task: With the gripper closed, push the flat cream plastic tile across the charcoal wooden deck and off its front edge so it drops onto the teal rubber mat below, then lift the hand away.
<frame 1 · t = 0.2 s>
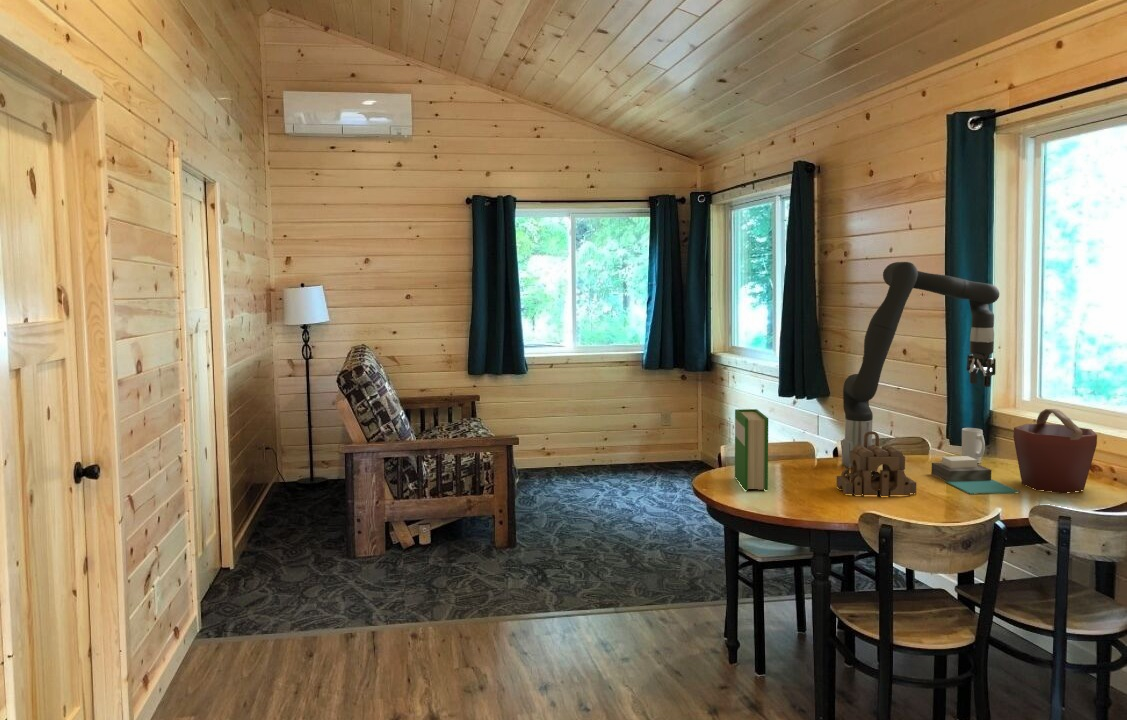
hand: (980, 385, 288), 29 cm above the table, tool pointing down, fingers open, 8 cm apart
tile: (959, 461, 271), point 5 cm above the table, touching deck
mat: (981, 487, 258), on the table
hardback book: (750, 485, 267), on the table
mug: (974, 463, 291), on the table
wooden puzzle: (875, 492, 256), on the table
deck: (960, 477, 271), on the table
bucket: (1050, 487, 258), on the table
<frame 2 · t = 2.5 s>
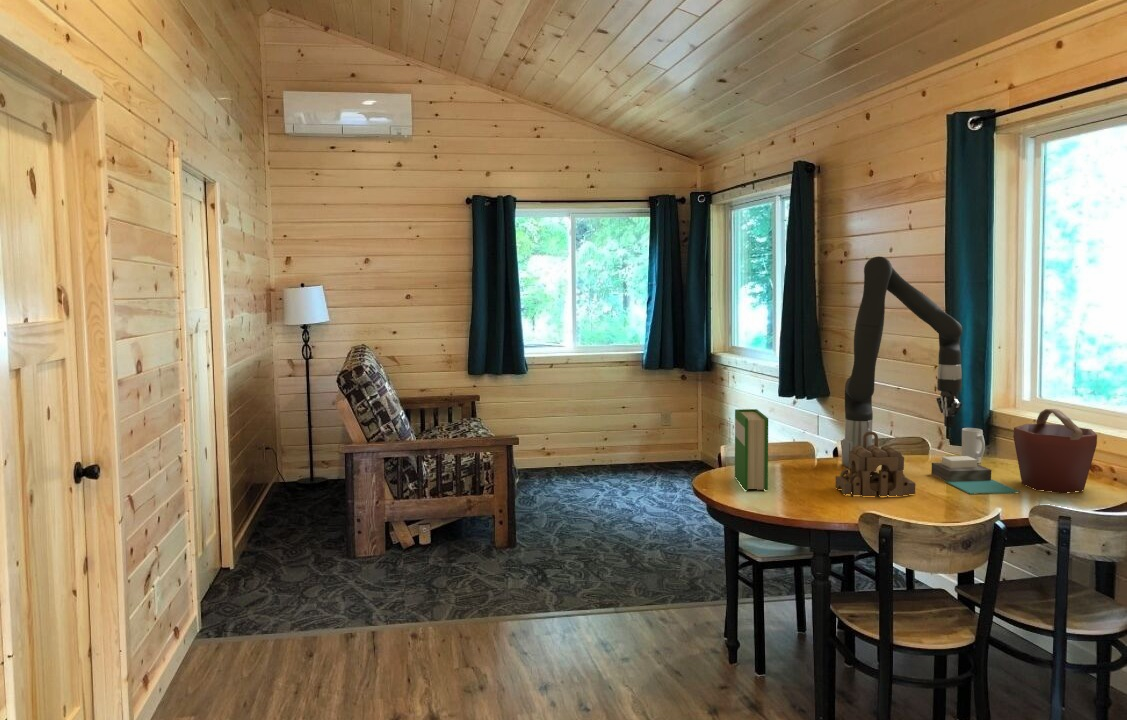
hand: (948, 426, 278), 16 cm above the table, tool pointing down, fingers closed
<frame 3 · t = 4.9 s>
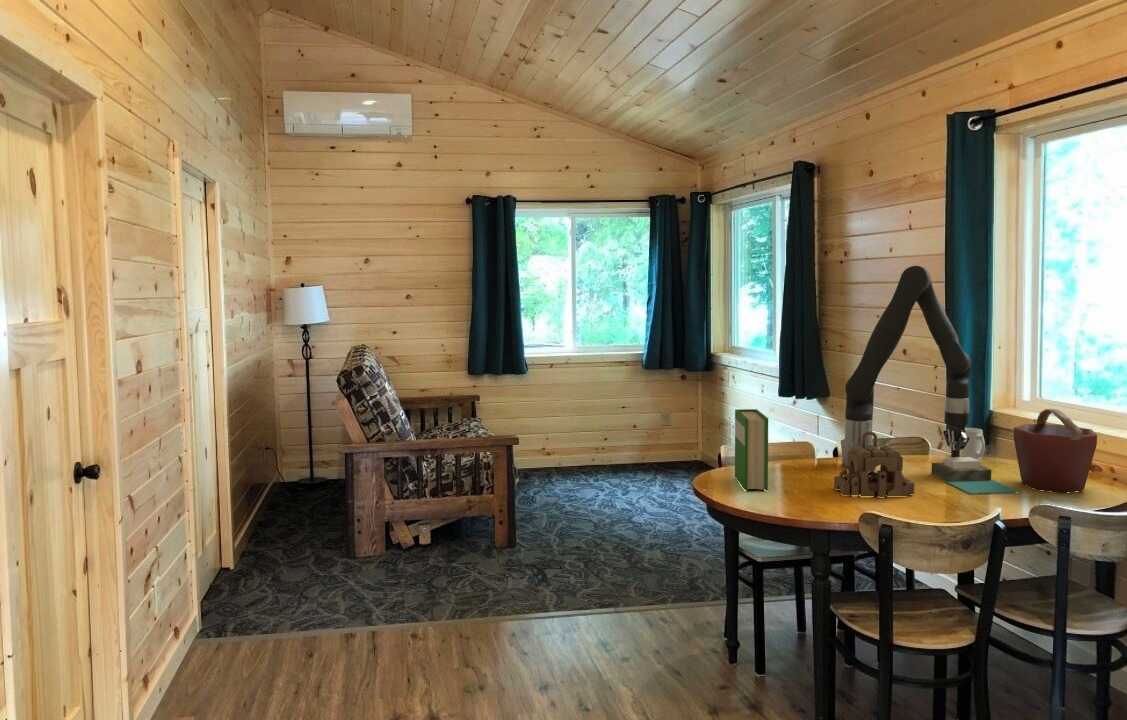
hand: (955, 460, 274), 5 cm above the table, tool pointing down, fingers closed
tile: (961, 462, 270), point 5 cm above the table, touching deck, gripper
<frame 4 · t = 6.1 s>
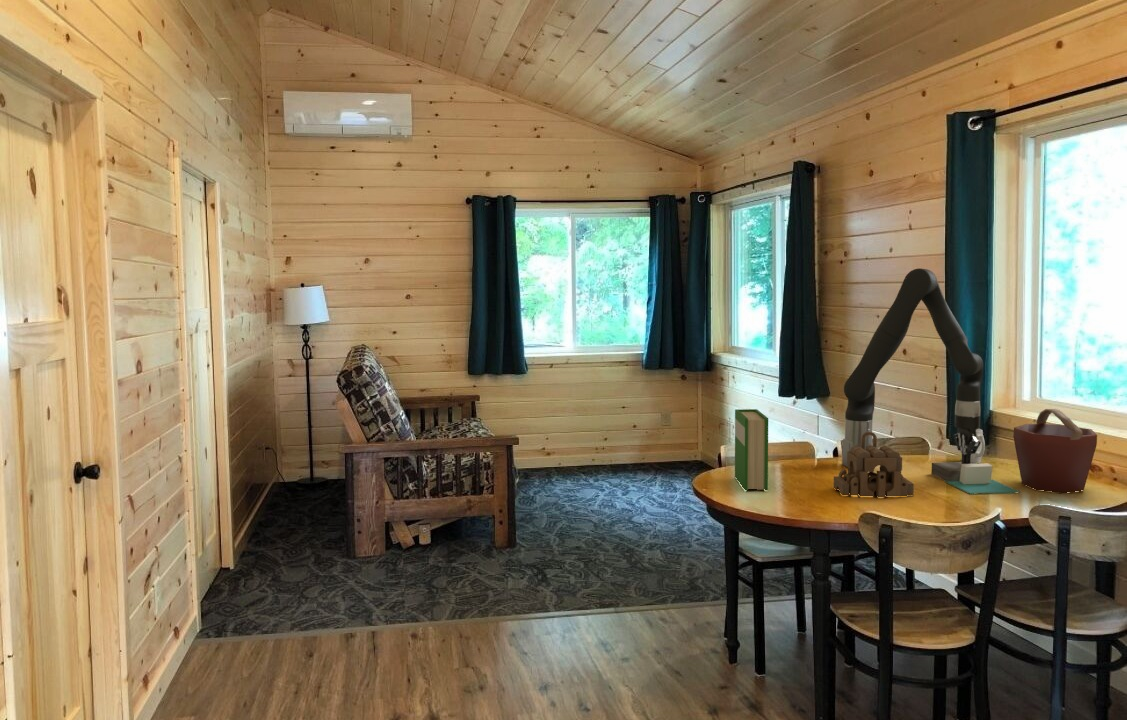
hand: (965, 464, 267), 5 cm above the table, tool pointing down, fingers closed
tile: (975, 473, 261), point 4 cm above the table, tilted 99°, touching mat
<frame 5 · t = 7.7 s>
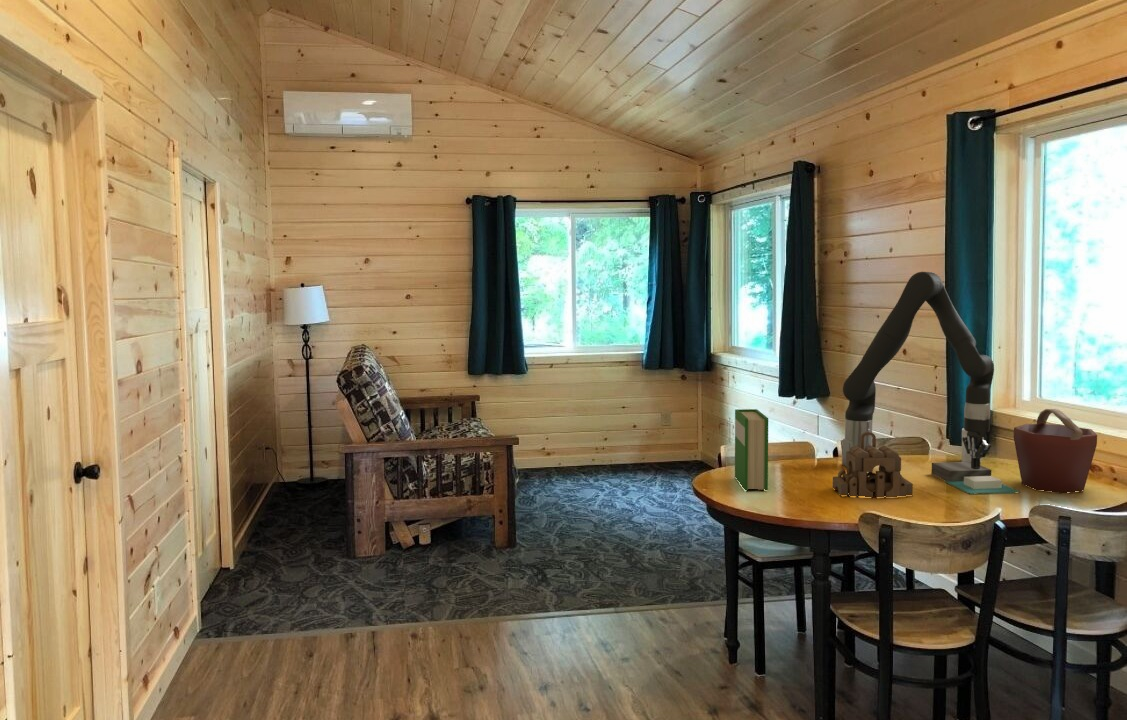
hand: (975, 468, 262), 5 cm above the table, tool pointing down, fingers closed
tile: (982, 482, 258), point 2 cm above the table, tilted 180°, touching mat
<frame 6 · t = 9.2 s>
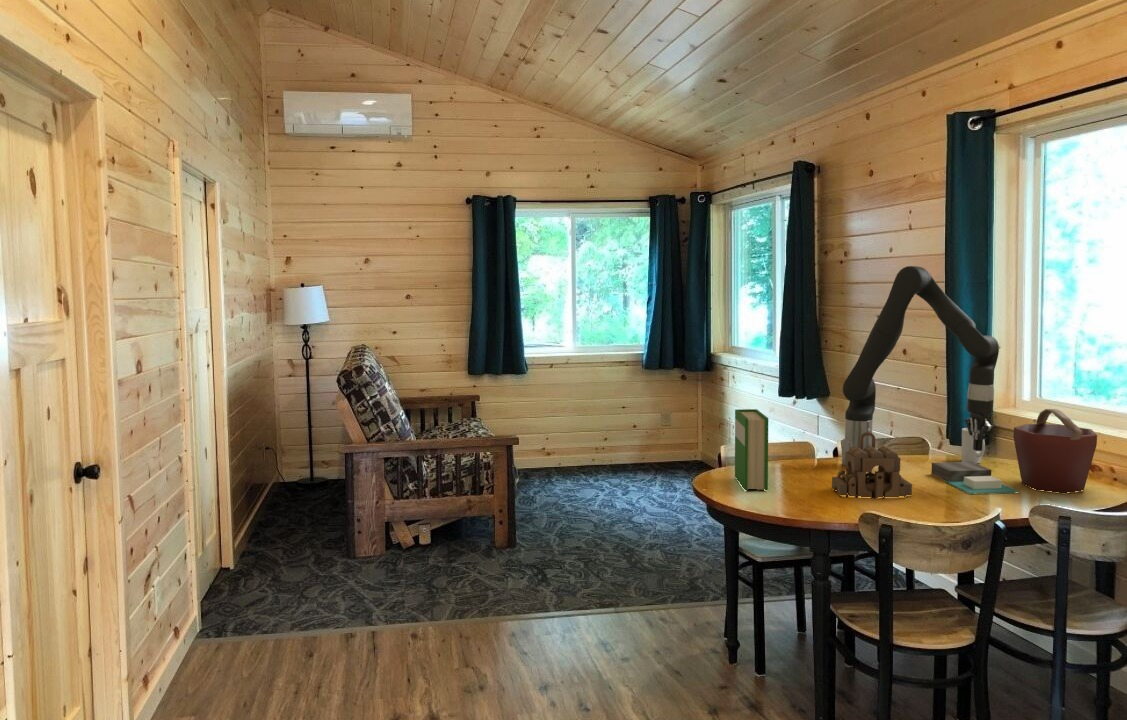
hand: (977, 450, 260), 12 cm above the table, tool pointing down, fingers closed
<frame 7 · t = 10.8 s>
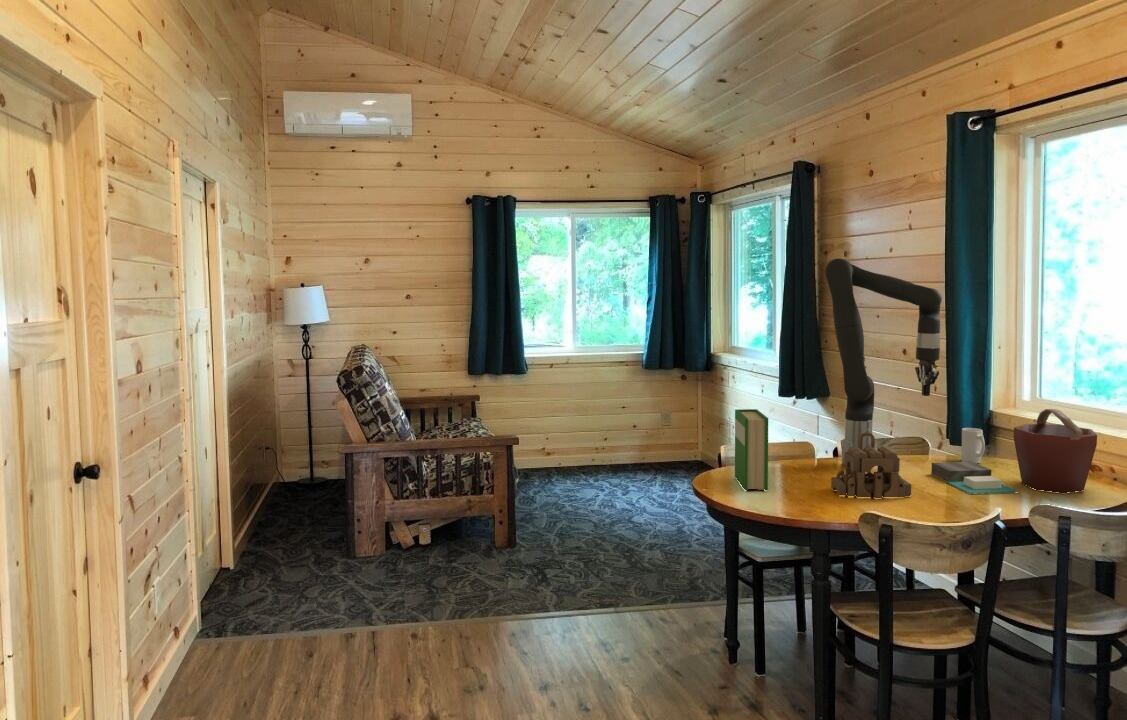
hand: (925, 395, 279), 27 cm above the table, tool pointing down, fingers closed
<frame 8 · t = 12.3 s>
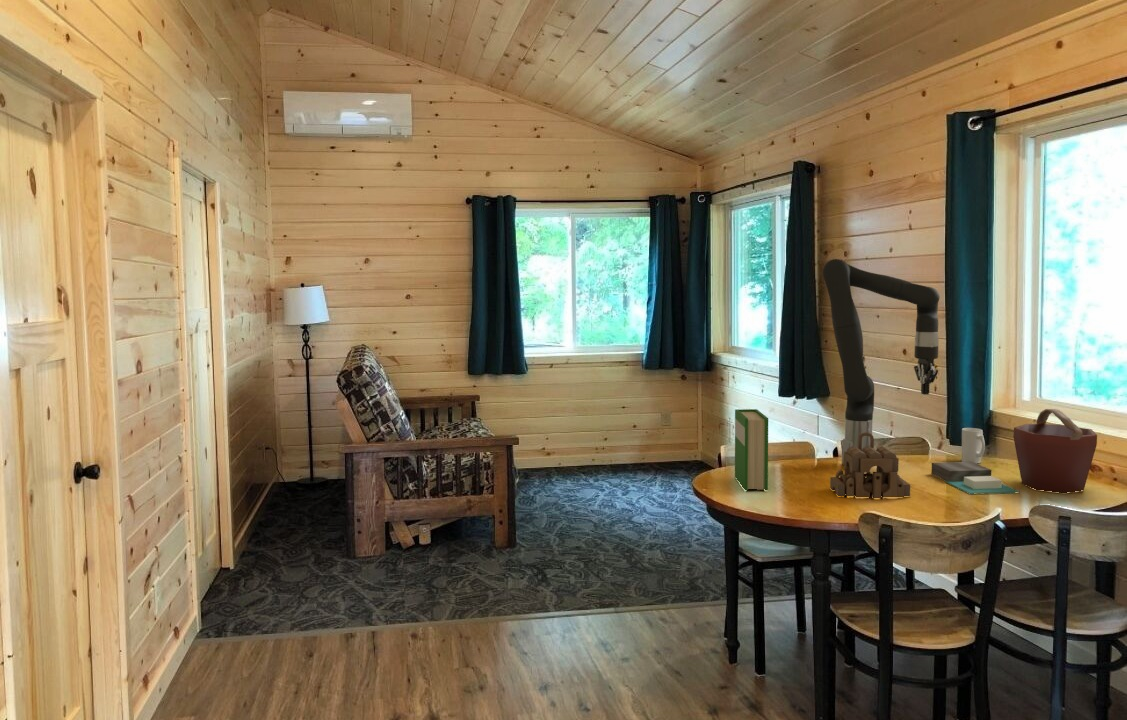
hand: (925, 394, 279), 27 cm above the table, tool pointing down, fingers closed
at the end: tile inside the target area (0.4 cm from its centre), point 1.7 cm above the table; tile touching mat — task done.
